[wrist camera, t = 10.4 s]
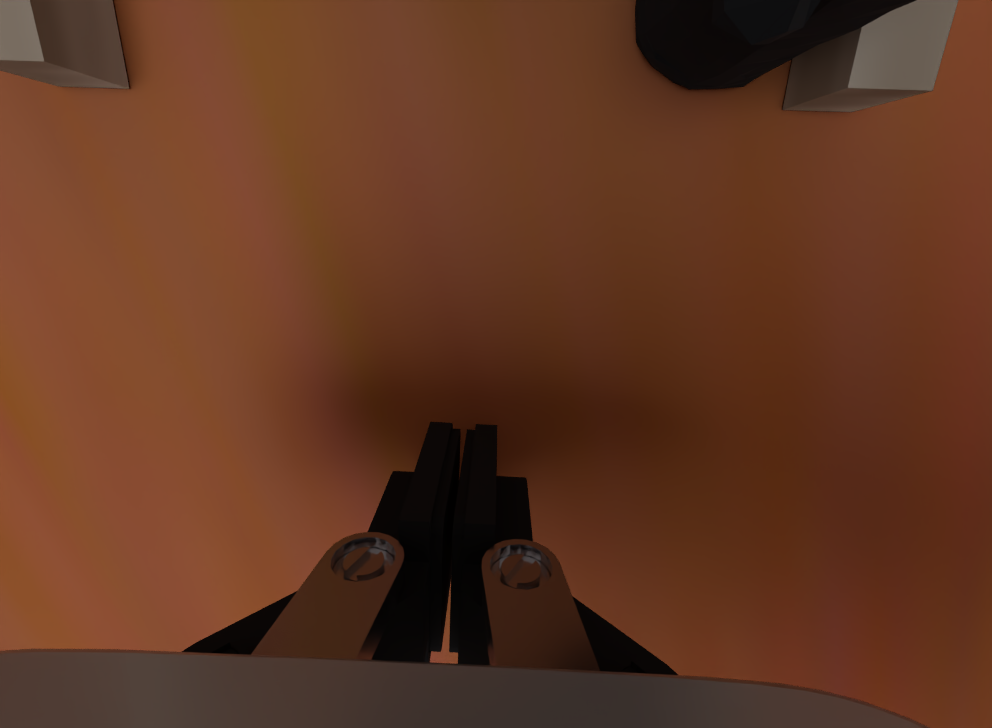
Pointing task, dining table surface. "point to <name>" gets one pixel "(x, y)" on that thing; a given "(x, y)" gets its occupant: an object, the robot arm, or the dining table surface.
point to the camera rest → (811, 87)
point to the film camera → (742, 35)
